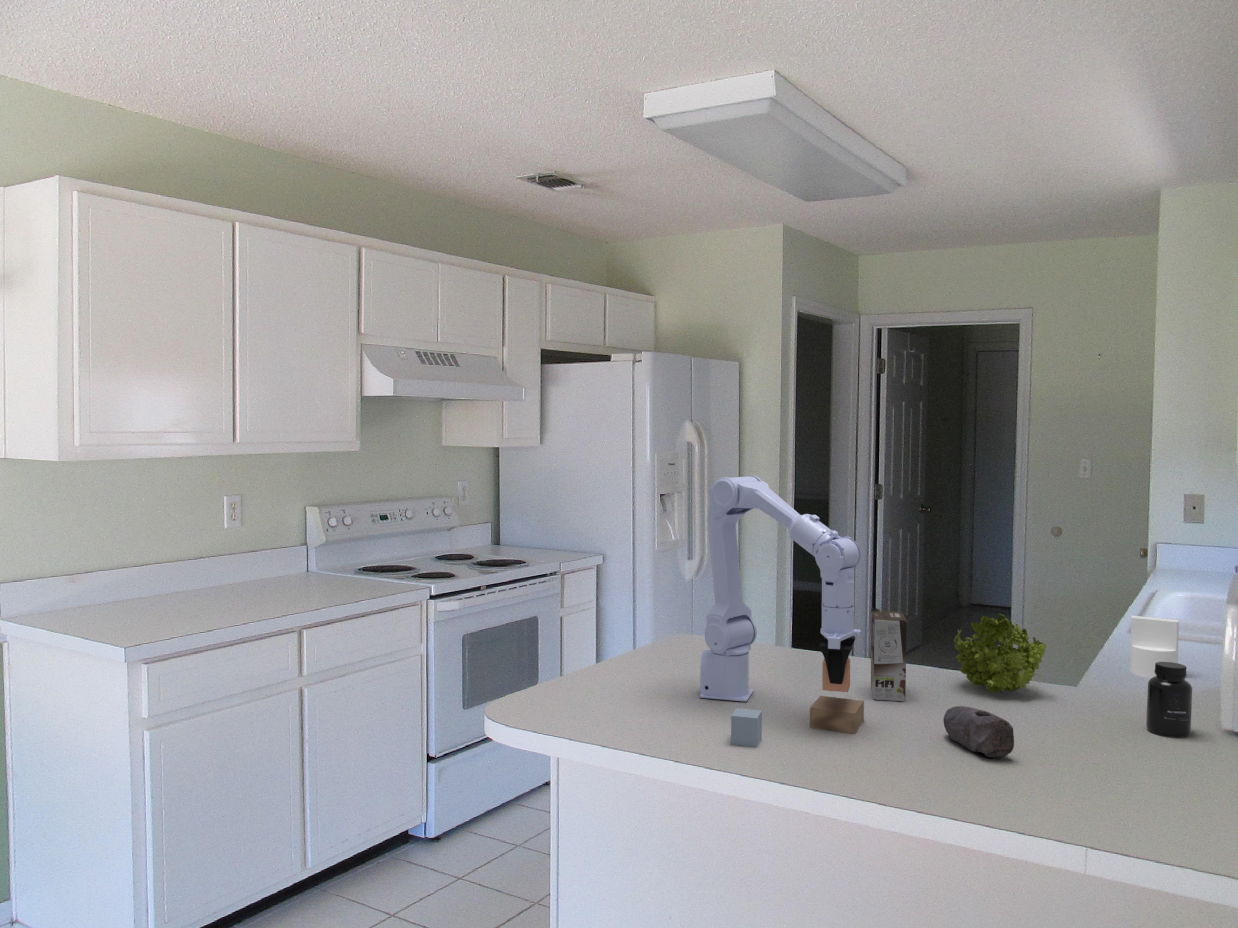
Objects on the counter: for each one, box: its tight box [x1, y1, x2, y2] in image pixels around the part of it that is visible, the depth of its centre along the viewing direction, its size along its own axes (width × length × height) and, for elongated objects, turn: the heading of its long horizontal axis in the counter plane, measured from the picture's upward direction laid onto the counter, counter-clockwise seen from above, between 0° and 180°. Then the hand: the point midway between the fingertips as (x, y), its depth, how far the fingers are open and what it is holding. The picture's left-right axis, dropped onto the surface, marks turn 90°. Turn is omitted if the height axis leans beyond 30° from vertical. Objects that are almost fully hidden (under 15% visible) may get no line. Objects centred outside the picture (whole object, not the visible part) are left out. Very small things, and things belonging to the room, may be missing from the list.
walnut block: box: [809, 695, 865, 735], centre depth 173 cm, size 8×8×4 cm
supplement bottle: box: [1145, 662, 1193, 738], centre depth 168 cm, size 7×7×12 cm
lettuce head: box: [953, 613, 1047, 694], centre depth 194 cm, size 18×16×16 cm
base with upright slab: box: [1129, 615, 1180, 679], centre depth 206 cm, size 9×9×12 cm
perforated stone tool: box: [942, 705, 1015, 759], centre depth 160 cm, size 15×5×7 cm, turn 17°
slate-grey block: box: [730, 707, 763, 748], centre depth 164 cm, size 4×4×5 cm
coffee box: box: [870, 610, 908, 702], centre depth 191 cm, size 9×6×16 cm
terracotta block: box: [821, 657, 851, 693], centre depth 173 cm, size 4×4×5 cm
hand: (837, 679), depth 173 cm, fingers closed on terracotta block, 4 cm apart
